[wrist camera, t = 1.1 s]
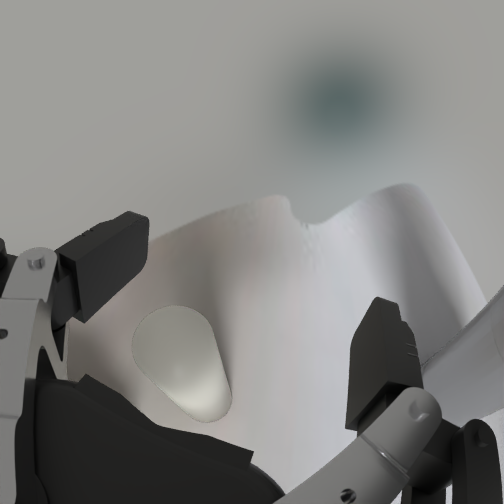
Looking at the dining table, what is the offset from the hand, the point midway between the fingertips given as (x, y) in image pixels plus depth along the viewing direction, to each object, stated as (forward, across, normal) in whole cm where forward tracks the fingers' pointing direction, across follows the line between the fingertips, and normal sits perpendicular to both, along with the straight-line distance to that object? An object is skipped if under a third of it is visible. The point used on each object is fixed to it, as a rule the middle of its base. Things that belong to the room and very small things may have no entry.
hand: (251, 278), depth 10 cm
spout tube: (+8, +2, +21) cm, 22 cm away
